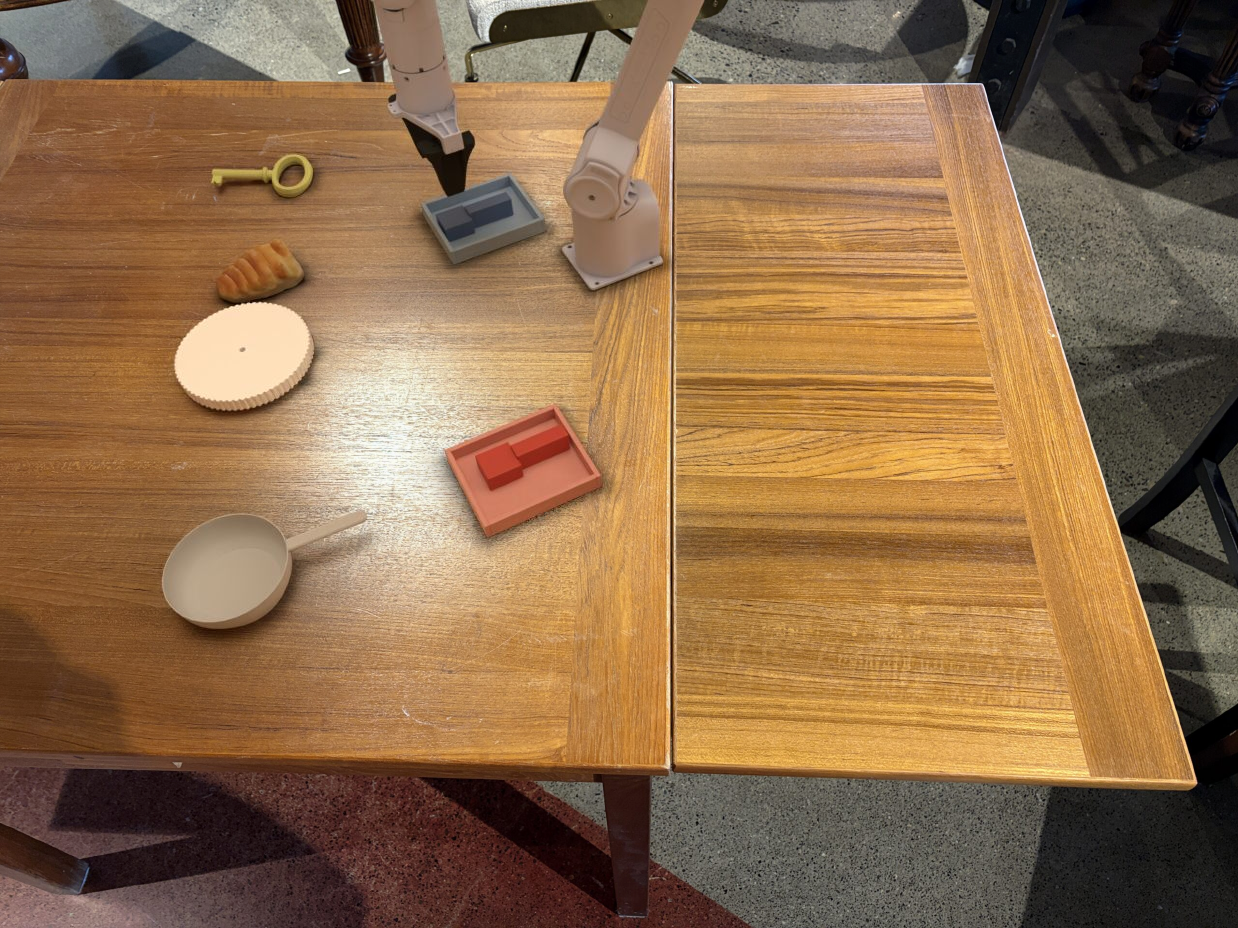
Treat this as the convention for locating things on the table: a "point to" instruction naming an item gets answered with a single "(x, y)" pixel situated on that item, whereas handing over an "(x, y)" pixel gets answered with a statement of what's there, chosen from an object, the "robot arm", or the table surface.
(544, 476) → the red tray
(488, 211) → the stepped square rod
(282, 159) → the key
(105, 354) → the table surface
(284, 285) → the pastry
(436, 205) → the blue tray
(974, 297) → the table surface
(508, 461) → the red stepped bar
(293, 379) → the cream gear wheel
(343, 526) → the beige frying pan
